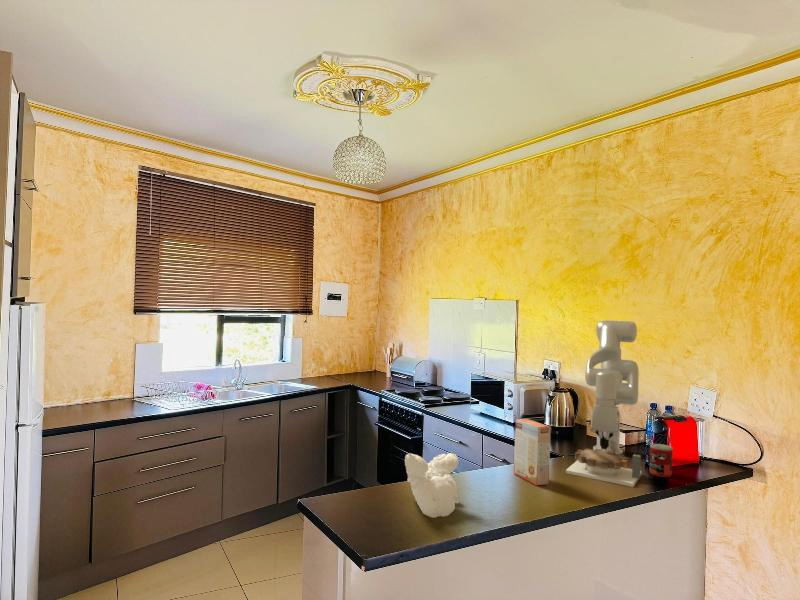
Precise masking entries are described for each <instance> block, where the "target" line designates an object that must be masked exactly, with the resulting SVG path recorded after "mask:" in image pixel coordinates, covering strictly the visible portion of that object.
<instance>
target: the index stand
mask: <svg viewBox="0 0 800 600" xmlns="http://www.w3.org/2000/svg"><path fill="white" fill-rule="evenodd" d="M641 458H642V457H641V455H640V454H636V453H635V454H634V453H633V455H632V468H628V467H627V468H623V467H621V469H614V468H608V469H604V468H601V467H598V466H594V467H592V466H588V464H586V463H580V462H578V460H575V462H574V463H572V464H571V465H570V466H569V467H568V468H567V469H565V474H568V475H574V476H578V477H583V478H588V479H593V480H596V481H602V482H607V483H612V484H617V485H622V486H625V487H630V488H631V487H632V488H634V487H635V485H636V484H637V482H638V480H639V479H640V478H641V476H642V473H643V472H642V470H641V468H642V467H641V466H642V465H641V461H642V459H641Z"/></svg>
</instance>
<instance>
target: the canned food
mask: <svg viewBox="0 0 800 600" xmlns="http://www.w3.org/2000/svg"><path fill="white" fill-rule="evenodd" d="M649 446H650V447H649V469H648V471H649V473H650V474H651V475H653V476H656V477H660V478H661V477H662V478H671V477H672V474H673V454H674V453H673V451H674V450H673V447H672V446H671V445H667V444H662V443H651V444H650V445H649Z"/></svg>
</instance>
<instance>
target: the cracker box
mask: <svg viewBox="0 0 800 600" xmlns="http://www.w3.org/2000/svg"><path fill="white" fill-rule="evenodd" d="M514 430H515V434H514V454H513V455H514V457H513V475H515V476H517V477H519V478H521V479H523V480H525V481H527V482H529V483H530V484H532V485H534V486H547V485H550V465H551V463H550V460H551V459H550V457H551V456H550V455H551V438H552V437H551V434H552V426H550V425H546V424H543V423H541V422H538V421H535V420H532V419H529V418H522V419H521V418H518V419H515V429H514Z"/></svg>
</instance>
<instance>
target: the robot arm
mask: <svg viewBox="0 0 800 600" xmlns="http://www.w3.org/2000/svg"><path fill="white" fill-rule="evenodd" d="M595 328H596V329H595V330H596V336H597V340H598V341H599V345H598V349H597V350H596V351H594V352H593V353H592V354H591V355H590V356H589V358H588V360H587V361H586V366H585V375H584V378H585V382H586V384H587V385H588V386H590V387H595V403H594V404H593V407H592V413H591V420H590V432H591V433H595V434H596V444H595V445H594V446H592V450H596V449H601V450H602V451H610V441H615V442H616V447H615V453H616V454H622V455H623V453H624V451H623V449H622V448H620V437H621V436H620V435H621V433H620V432H621V412H620V409H619V407H618V406H617V405H628V406H635V405H636V404H637V403H638V400H639V378H640V377H639V376H640V375H639V366H638V363H637V362H636V361H634V360H630V359H622V349H621V343H634V342H635V341H636V339H637V335H638V327H637V324H636V323H635V322H634V321H625V320H601V321H598V322H597V323H596V327H595ZM598 364H600V368H595V366H597V365H598ZM623 381H625V382H623ZM626 382H627V383H626Z"/></svg>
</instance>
